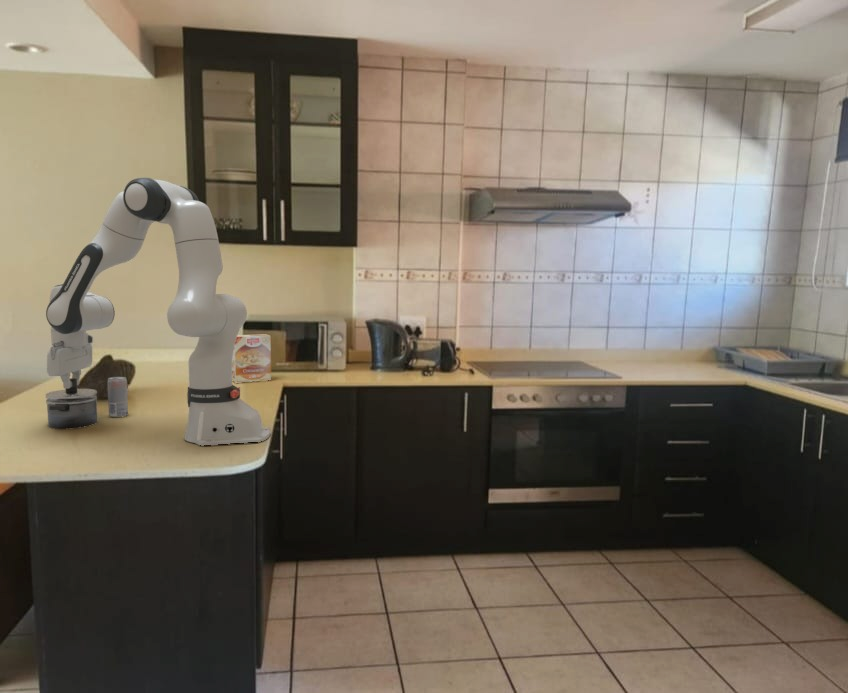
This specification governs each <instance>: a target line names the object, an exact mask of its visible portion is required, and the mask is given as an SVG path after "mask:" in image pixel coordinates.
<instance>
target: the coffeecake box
mask: <svg viewBox="0 0 848 693" xmlns="http://www.w3.org/2000/svg"><path fill="white" fill-rule="evenodd" d="M271 338H272V337H271V335H270V334H266V333H262V334H238V335H237V338H236V342H235V346H234V350H233V356H232V380H233V381H234V382H236V383H239V382H252V381H263V380H271V381H272V345H271V344H272V342H271V341H272V339H271ZM233 381H232V382H233ZM234 382H233V383H234ZM236 383H235V384H236ZM252 383H253V382H252ZM239 384H240V383H239Z"/></svg>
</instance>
